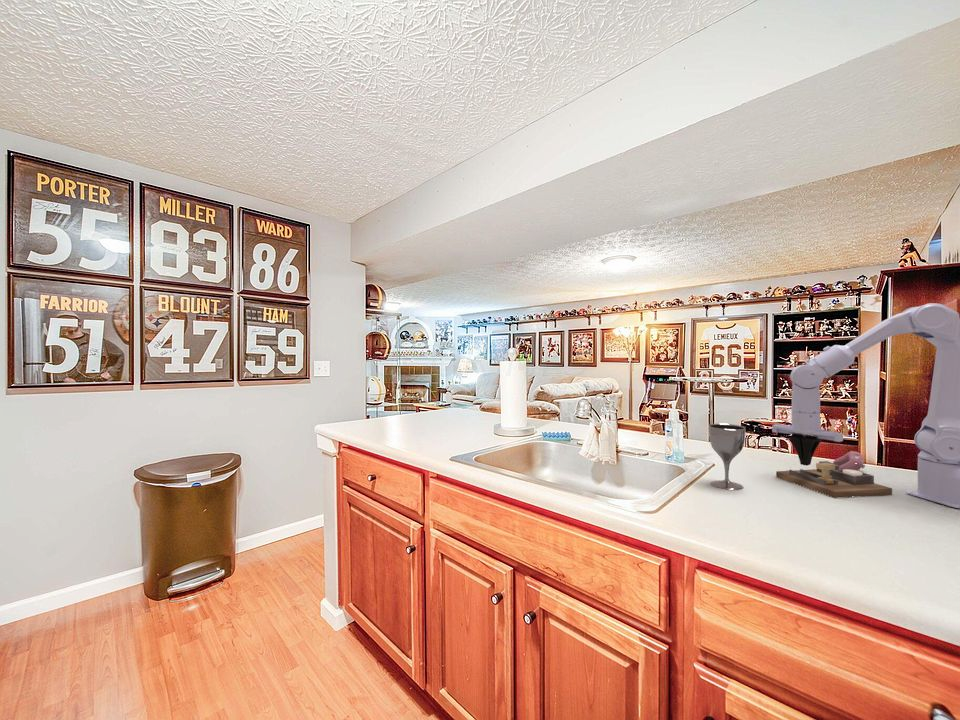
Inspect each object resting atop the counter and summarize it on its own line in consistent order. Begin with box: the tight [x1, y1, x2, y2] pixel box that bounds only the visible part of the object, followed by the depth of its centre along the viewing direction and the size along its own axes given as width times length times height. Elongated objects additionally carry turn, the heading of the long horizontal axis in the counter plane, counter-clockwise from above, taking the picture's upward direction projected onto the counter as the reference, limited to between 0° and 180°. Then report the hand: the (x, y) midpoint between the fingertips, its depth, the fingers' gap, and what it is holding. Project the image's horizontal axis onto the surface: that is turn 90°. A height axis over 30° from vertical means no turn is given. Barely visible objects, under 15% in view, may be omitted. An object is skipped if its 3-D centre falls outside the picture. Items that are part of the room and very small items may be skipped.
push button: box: [843, 469, 862, 476], centre depth 100 cm, size 4×4×2 cm
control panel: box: [775, 468, 893, 499], centre depth 102 cm, size 16×15×4 cm
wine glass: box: [708, 423, 746, 491], centre depth 103 cm, size 8×8×15 cm
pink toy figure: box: [832, 450, 866, 471], centre depth 113 cm, size 10×5×7 cm, turn 144°
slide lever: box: [815, 462, 835, 484], centre depth 99 cm, size 2×3×4 cm
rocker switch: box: [818, 460, 839, 470], centre depth 107 cm, size 3×2×1 cm
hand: (805, 464), depth 104 cm, fingers closed
